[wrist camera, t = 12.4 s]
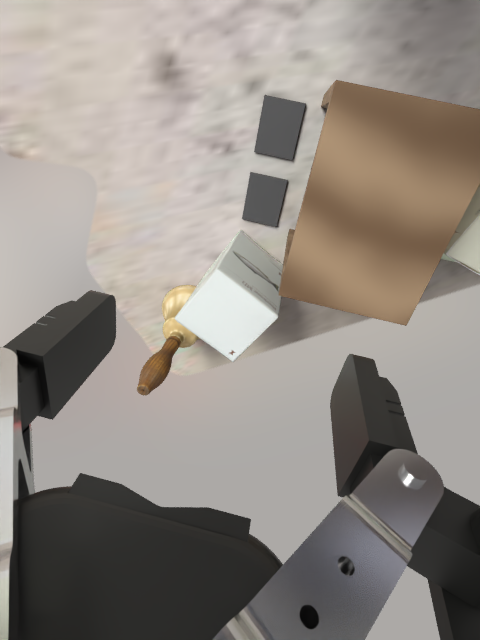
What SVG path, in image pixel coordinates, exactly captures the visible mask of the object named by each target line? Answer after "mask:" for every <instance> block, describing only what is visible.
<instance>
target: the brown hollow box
mask: <svg viewBox="0 0 480 640" xmlns="http://www.w3.org/2000/svg"><path fill="white" fill-rule="evenodd" d="M321 107H324V108H328V109H327V112H326V116H325V120H324V124H323V127H322V131H321V135H320V139H319V142H318V146H317V150H316V153H315V157H314V161H313V165H312V168H311V172H310V176H309V180H308V183H307V187H306V191H305V195H304V198H303V202H302V206H301V210H300V213H299V217H298V221H297V225H296V228H295V230H292V229H289V233H288V237H287V243H286V250H285V256H284V263H283V269H282V275H281V282H280V288H279V296H283V297H287V298H292V299H296V300H300V301H304V302H308V303H313V304H317V305H321V306H325V307H330V308H334V309H338V310H342V311H346V312H351V313H355V314H359V315H363V316H367V317H372V318H376V319H380V320H384V321H389V322H393V323H397V324H401V325H405V326H406V325H407V323H408V321H409V320H410V317H411V316H412V314H413V312H414V310H415V308H416V306H417V304H418V302H419V300H420V298H421V296H422V294H423V292H424V290H425V288H426V287H427V285H428V283H429V281H430V279H431V277H432V275H433V273H434V271H435V269H436V267H437V265H438V263H439V261H440V259H441V257H442V255H443V254H444V252H445V250H446V248H447V246H448V244H449V242H450V240H451V238H452V236H453V234H454V232H455V230H456V228H457V226H458V224H459V222H460V220H461V219H462V217H463V215H464V213H465V211H466V209H467V207H468V205H469V203H470V201H471V199H472V197H473V195H474V193H475V191H476V189H477V187H478V186H479V184H480V109H475V108H470V107H465V106H460V105H456V104H451V103H446V102H441V101H436V100H431V99H426V98H421V97H417V96H412V95H407V94H402V93H397V92H392V91H387V90H382V89H378V88H373V87H368V86H363V85H358V84H353V83H348V82H343V81H338V80H336V81H335V82H334V83H333V84H332V86H331V87H330V88H329V89H328V91H327V92H326V93H325V94H324V98H323V101H322V105H321Z"/></svg>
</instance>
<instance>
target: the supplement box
mask: <svg viewBox="0 0 480 640" xmlns="http://www.w3.org/2000/svg"><path fill="white" fill-rule="evenodd" d="M282 269H283V265H282V264H281V263H280V262H278V261H277V260H276V259H274V258H273V257H272V256H271V255H269V254H268V253H267V252H266V251H265V250H263V249H262V248H261V247H260V246H259V245H258V244H256V243H255V242H254V241H253V240H252V239H251V238H249V237H248V236H247V235H246V234H245V233H244V232H243V231H242V230H240V231H239V232H238V233H237V234H236V236H235V237H234V238H233V239H232V241H231V242H230V243H229V244H228V246H227V247H226V248H225V249H224V251H223V252H222V253H221V254H220V256H219V257H218V258H217V259H216V261H215V262H214V263H213V265H212V266H211V267H210V269H209V270H208V271H207V272H206V274H205V275H204V277H203V278H202V279H201V281H200V282H199V284H198V285H197V287H196V288H195V290H194V291H193V293H192V294H191V296H190V297H189V299H188V300H187V301H186V303H185V304H184V306H183V307H182V309H181V310H180V311H179V313H178V314H177V315H176V316H175V320H176V321H177V322H178V323H180V324H181V325H182V326H184V327H185V328H187V329H188V330H189V331H191V332H192V333H194V334H195V335H196V336H198V337H199V338H200V339H202V340H203V341H204V342H206V343H207V344H209V345H210V346H211V347H213V348H214V349H216V350H217V351H218V352H220V353H221V354H222V355H224V356H225V357H227V358H228V359H229V360H230V361H232V362H234V361H235V360H236V359H237V358H238V357H239V356H240V355H241V354H242V353H243V352H244V351H245V350H246V349H247V348H248V347H249V346H250V345H251V344H252V343H253V342H254V341H255V340H256V339H257V338H258V337H259V336H260V335H261V334H262V333H263V332H264V331H265V330H266V329H267V328H268V327H269V326H270V325H271V324H272V323H273V322H274V321H275V320H276V319H277V318H278V316H279V310H280V304H281V298H282V296H279V288H280V282H281V275H282Z"/></svg>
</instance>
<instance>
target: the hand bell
mask: <svg viewBox="0 0 480 640" xmlns="http://www.w3.org/2000/svg"><path fill="white" fill-rule="evenodd" d="M195 288H196V286H192V285H182V286H178V287H176V288H174V289H172V290H170V291H169V292H168V293H167V294H166V296H165V298H164V300H163V304H162V312H163V316H164V319H165V323H164V325H163V334H164V336H165V338H166V342H165V344H164V346H163V347H162V349H161V350H160V351H159V352H157V353H156V354H154V355H153V356H152V357H151V358H150V359H149V360H148V361H147V362H146V364H145V365H144V367H143V369H142V371H141V374H140V379H139V384H138V387H137V391H138V393H140V394H141V395H148V394H149V393H150V392H151V391H152V390H154V389H155V388H157V387H158V386H159V385H160V384H161V383H162V382H163V381H164V379H165V378H166V377H167V375H168V373H169V370H170V367H171V363H172V357H173V355H174V354H175V352H176V351H177V349H178V348H179V347H181V348H185V347H189V346H191V345H193V344H194V343H195V342H196V340H197V339H200V338H199V337H198V336H196V335H195V334H194V333H192V332H191V331H189V330H188V329H187V328H185V327H184V326H182V325H181V324H180V323H178V322H177V321H176V320H175V316H176V315H177V314H178V313H179V311H180V310H181V309H182V307H183V306H184V304H185V303H186V301H187V300H188V299H189V297H190V296H191V294H192V293H193V291H194V290H195Z"/></svg>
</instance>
